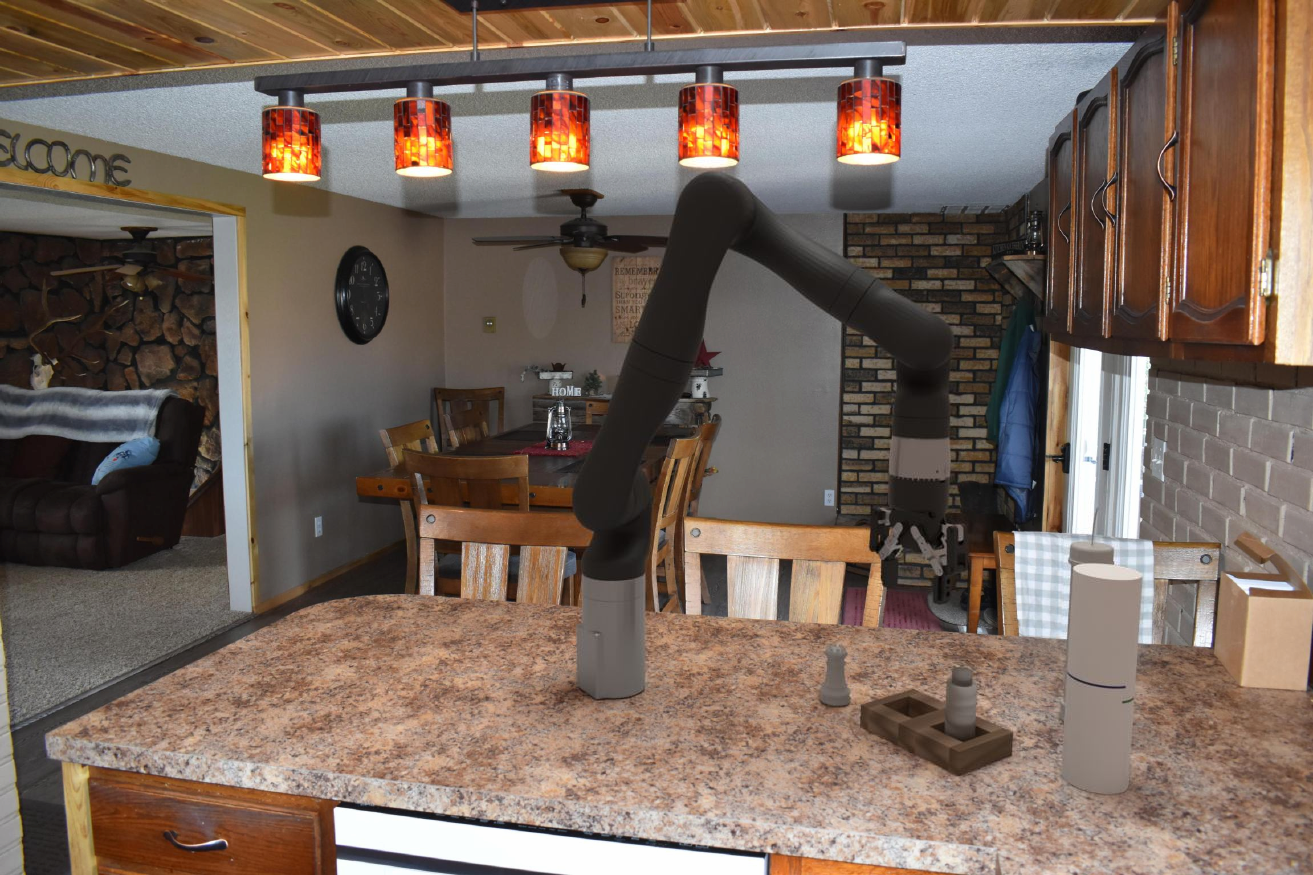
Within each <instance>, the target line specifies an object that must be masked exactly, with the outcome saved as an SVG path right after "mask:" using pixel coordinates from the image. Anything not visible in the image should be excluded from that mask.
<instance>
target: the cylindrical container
mask: <svg viewBox="0 0 1313 875" xmlns="http://www.w3.org/2000/svg"><path fill="white" fill-rule="evenodd" d="M1143 577H1144V575H1143V573H1141V571H1138V570H1136V569H1133V568H1130V567H1125V566H1121V565H1116V564H1114V565H1109V564H1096V563H1089V564H1079V565H1076V566H1074V567H1073V579H1072V596H1071V613H1070V630H1069V647H1068V664H1067V681H1066V698H1065V715H1064V722H1063V736H1062V738H1063V739H1062V749H1061V751H1062V753H1061V769H1060V774H1061V777H1062V779H1063V780H1064V781H1065V782H1067V784H1070V785H1071V786H1073V787H1074V788H1076V789H1080V790H1083V791H1085V790H1086V791H1085V792H1089V793H1092V794H1098V795H1118V794H1122V793H1124V792H1126V791H1127V790H1128V789H1129V783H1130V766H1131V756H1132V755H1131V754H1132V753H1131V752H1132V751H1131V750H1132V738H1133V736H1132V735H1133V725H1134V724H1133V722H1134V707H1135V696H1136V695H1135V692H1136V680H1137V678H1136V677H1137V664H1138V650H1139V634H1140V623H1141V622H1140V621H1141V620H1140V619H1141V608H1142V607H1141V606H1142V605H1141V604H1142V592H1143V591H1142V590H1143Z"/></svg>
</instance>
